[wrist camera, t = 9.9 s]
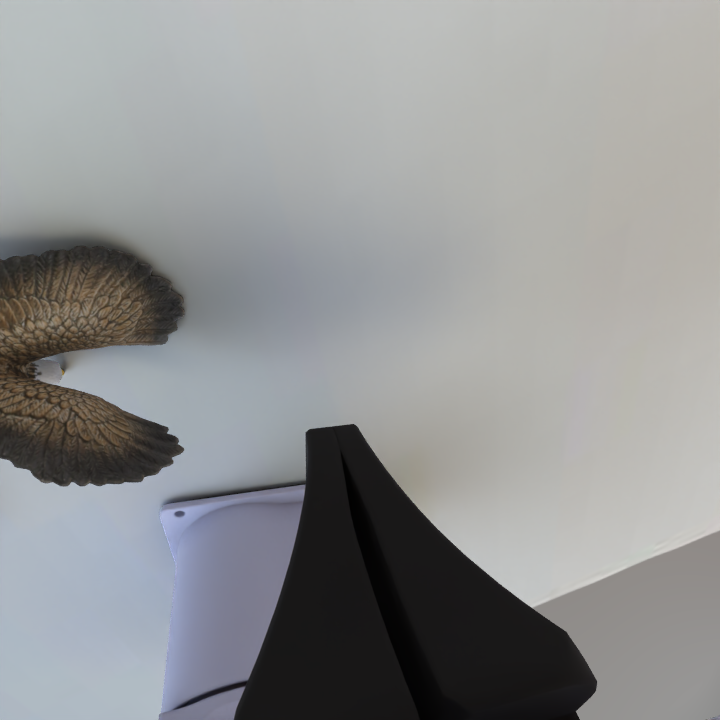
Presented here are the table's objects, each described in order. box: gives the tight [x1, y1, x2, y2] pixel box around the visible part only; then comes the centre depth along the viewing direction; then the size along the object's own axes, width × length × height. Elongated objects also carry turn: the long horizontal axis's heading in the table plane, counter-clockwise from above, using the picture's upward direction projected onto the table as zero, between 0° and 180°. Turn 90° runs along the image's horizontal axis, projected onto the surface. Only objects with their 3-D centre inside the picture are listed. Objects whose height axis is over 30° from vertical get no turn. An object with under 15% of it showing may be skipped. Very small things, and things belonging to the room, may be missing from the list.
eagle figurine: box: [0, 246, 184, 486], centre depth 14 cm, size 8×7×9 cm
